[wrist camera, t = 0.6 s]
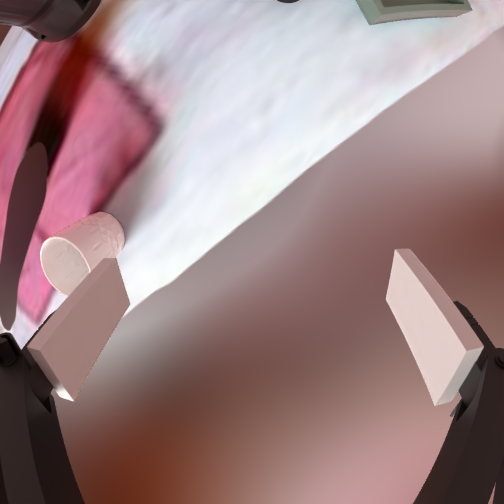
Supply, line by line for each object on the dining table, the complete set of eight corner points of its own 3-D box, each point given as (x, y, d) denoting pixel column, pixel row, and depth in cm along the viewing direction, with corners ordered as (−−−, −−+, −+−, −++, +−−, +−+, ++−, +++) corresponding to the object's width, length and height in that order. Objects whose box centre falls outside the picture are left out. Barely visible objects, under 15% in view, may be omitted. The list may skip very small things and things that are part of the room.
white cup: (102, 195, 41) (57, 222, 30) (139, 239, 44) (104, 278, 33) (73, 229, 44) (31, 260, 33) (107, 269, 47) (73, 308, 36)
